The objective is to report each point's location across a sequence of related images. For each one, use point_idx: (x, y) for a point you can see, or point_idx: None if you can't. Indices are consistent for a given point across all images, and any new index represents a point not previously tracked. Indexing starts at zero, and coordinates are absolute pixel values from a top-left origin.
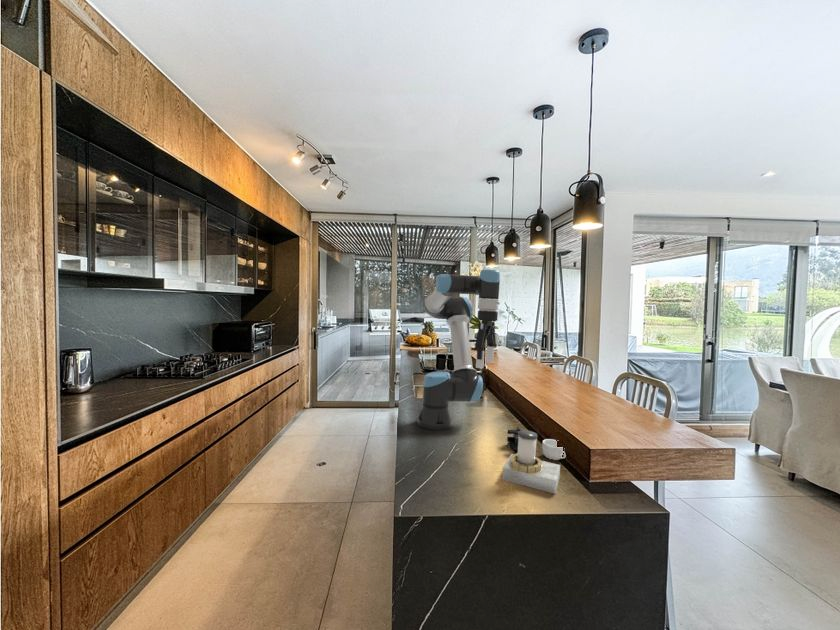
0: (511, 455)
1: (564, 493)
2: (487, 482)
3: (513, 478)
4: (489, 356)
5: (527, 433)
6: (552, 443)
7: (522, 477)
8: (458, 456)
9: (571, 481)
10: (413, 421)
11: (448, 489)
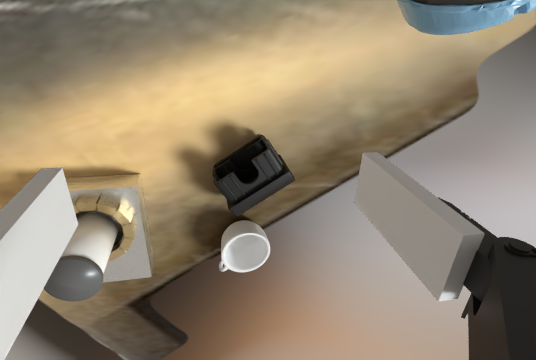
0: (125, 189)
1: None
2: (5, 155)
3: None
4: (386, 203)
5: (73, 280)
6: (264, 242)
7: None
8: (87, 37)
9: (150, 277)
10: None
11: None
